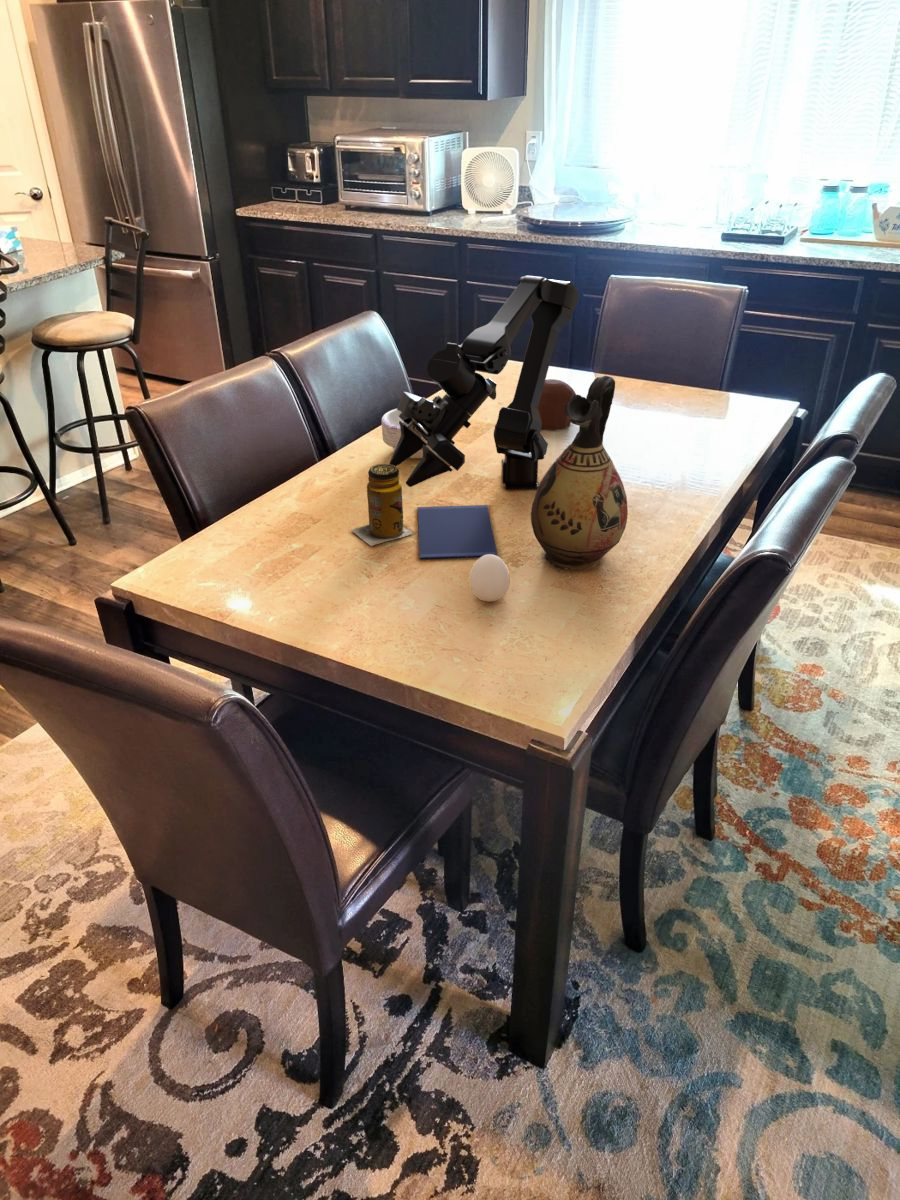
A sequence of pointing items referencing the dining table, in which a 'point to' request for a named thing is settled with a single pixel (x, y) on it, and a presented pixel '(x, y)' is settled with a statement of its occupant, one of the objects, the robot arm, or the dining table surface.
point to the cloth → (455, 532)
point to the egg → (489, 578)
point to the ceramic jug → (582, 489)
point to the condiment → (383, 506)
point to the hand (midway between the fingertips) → (399, 475)
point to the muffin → (554, 404)
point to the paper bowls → (395, 431)
